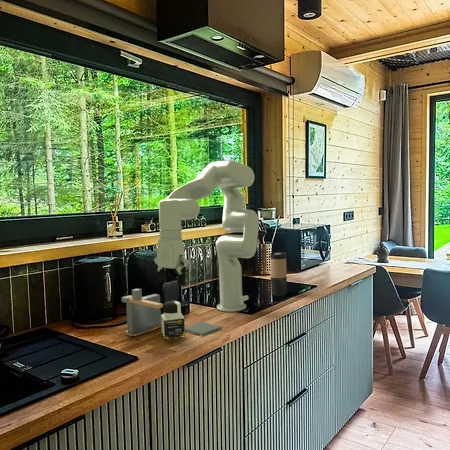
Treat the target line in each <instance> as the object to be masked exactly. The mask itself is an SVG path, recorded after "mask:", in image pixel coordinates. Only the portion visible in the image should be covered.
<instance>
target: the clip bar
mask: <svg viewBox="0 0 450 450" xmlns="http://www.w3.org/2000/svg"><path fill="white" fill-rule="evenodd" d="M142 291H143V290H142V288H134V289H131V295H126V296H121V303H129V302H131V303H135V304H139V305H144V306H148V307H152V308H157V309H159V308H160V309H163V304H164V303H161V302H160V303H157V302H153V301H148V300H144V299H142V297H143V294H142V293H143V292H142Z"/></svg>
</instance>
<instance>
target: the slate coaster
mask: <svg viewBox="0 0 450 450" xmlns="http://www.w3.org/2000/svg"><path fill="white" fill-rule="evenodd" d="M221 329H222V325H221V326H220V325H217V324H212V323H207V322H204V321H200V322H198V323H195V324H192V325H188V326H186V327H185V331H189V332H193V333H196V334H199V335H198V336H200V335H202V336H201V337H204V336H206V334H207V335H209V334H211V332H212V333H214V332H217V331H220V330H221ZM189 332H188V333H189ZM208 333H209V334H208ZM196 334H195V335H196ZM203 335H204V336H203Z"/></svg>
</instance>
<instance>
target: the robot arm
mask: <svg viewBox="0 0 450 450" xmlns="http://www.w3.org/2000/svg"><path fill="white" fill-rule="evenodd" d="M254 173H255V172H254V171H253V169H252V168H251V167H250V166H248V165H246V164H244V163H241V162H239V161H236V160H231V159H229V160H228V159H227V160H217V161H211V162H210V163H208V164H207V165H206V166H205V167H204V168H203V170H201V172H199V174H198V175H197V176H196V177H195V178H194V179H193V180H190V181H188V182H187V183H185V184H183V185H182V186H179V187H178V188H176V189H175V190H173V191H172V192H171V193H170V194H169V195H168V196H166V198H165V199H161V200H160V201H159V202H158V218H159V221H158V222H159V223H158V225H159V238H158V242H157V247H156V257H154V259H153V261H154V263H155V267H156V268H157V270H156V271H157V272H158V282H159V284H162V283H166V282H167V281H168V275H167V270H166V269H170V270H171V269H175V270H176V272H177V273H178V274H177V275H176V276H177V286H178V287H181V286H182V287H183V286H186V284H187V283H186V278H187V277H186V275H187V272H188V271H189V267H190V264H191V261H190V260H188V258H186V256H185V253H186V252H185V245H184V241H183V238H182V237H183V236H182V235H183V233H182V220H193V219H196V218H197V217H198V216H199V214H200V212H201V211H200V210H201V207H200V204H199V202H198V201H200V200H202V199H206V198H207V197H210V196H211V195H212V194H213V192H214V191H215V190H216V188H217V187H219V188H220V191H221V192H222V195H223V200H224V201H223V210H222V211H223V212H222V220H221V221H222V223H221V224H222V225H221V226H222V229H223V230H224V231H225V232H230V233H231V232H232V233H242V234H222V235H221V236H219V237H218V238H217V240H216V241H215V250H216V255H217V261H218V272H219V273H218V274H219V275H218V279H219V303H218V304H216V309H217V310H218V311H221V312H225V313H226V312H227V313H230V312H232V313H233V312H240V311H244V310H245V309H246V308H247V304H246V303H245V301H247V300H249V295H243V286H242V285H243V282H242V280H243V279H242V278H243V276H242V265H241V263H240V261H239V259H251V258H252V257H254V256H255V254H256V251H257V246H258V237H259V236H258V235H259V225H260V224H259V223H260V221H259V217H258V214H257V212H256V211H254V210H253V209H244V203H245V202H244V201H245V200H244V199H245V198H244V196H243V194H242V192H241V191H240V189H239V188H248V187H251V186H252V185H253V183H254V181H255V174H254Z"/></svg>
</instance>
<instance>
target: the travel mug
mask: <svg viewBox="0 0 450 450" xmlns="http://www.w3.org/2000/svg"><path fill="white" fill-rule="evenodd" d="M269 257H270V258H269V259H270V260H269V261H270V263H269V264H270V267H269V269H270V288H271V295H272V296H274V297H283V296H286V295H287V286H288V285H287V284H288V283H287V281H288V280H287V279H288V277H287V276H288V273H287V272H288V271H287V253H286V252H283V251H273V252H270V253H269Z"/></svg>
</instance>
